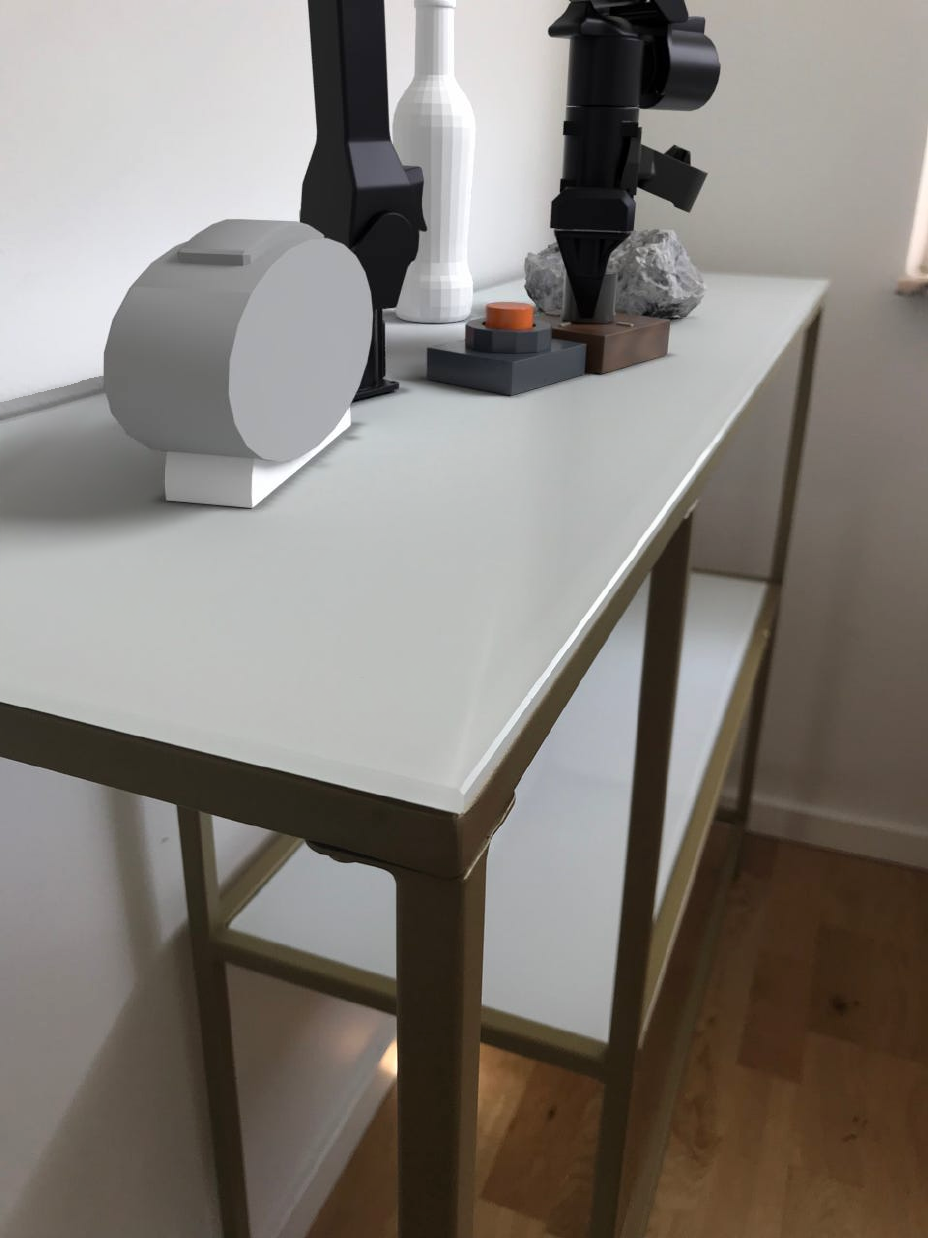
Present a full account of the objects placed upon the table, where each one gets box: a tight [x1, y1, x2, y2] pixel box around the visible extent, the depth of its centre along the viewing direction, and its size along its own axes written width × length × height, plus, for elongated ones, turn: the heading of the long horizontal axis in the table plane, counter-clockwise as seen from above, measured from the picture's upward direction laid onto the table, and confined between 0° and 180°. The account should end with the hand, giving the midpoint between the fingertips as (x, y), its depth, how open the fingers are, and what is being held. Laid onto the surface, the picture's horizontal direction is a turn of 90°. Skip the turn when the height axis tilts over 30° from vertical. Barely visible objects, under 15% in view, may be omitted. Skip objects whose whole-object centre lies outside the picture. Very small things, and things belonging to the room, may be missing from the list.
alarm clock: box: [102, 218, 373, 509], centre depth 56 cm, size 23×6×13 cm, turn 169°
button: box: [485, 301, 534, 329], centre depth 78 cm, size 4×4×2 cm
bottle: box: [391, 0, 477, 324], centre depth 98 cm, size 8×8×30 cm
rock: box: [523, 228, 708, 319], centre depth 106 cm, size 18×15×10 cm
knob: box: [562, 268, 618, 324], centre depth 86 cm, size 4×4×4 cm
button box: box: [426, 317, 586, 396], centre depth 79 cm, size 10×8×4 cm
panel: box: [533, 309, 671, 375], centre depth 88 cm, size 11×10×3 cm
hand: (587, 313), depth 87 cm, fingers closed on knob, 4 cm apart
